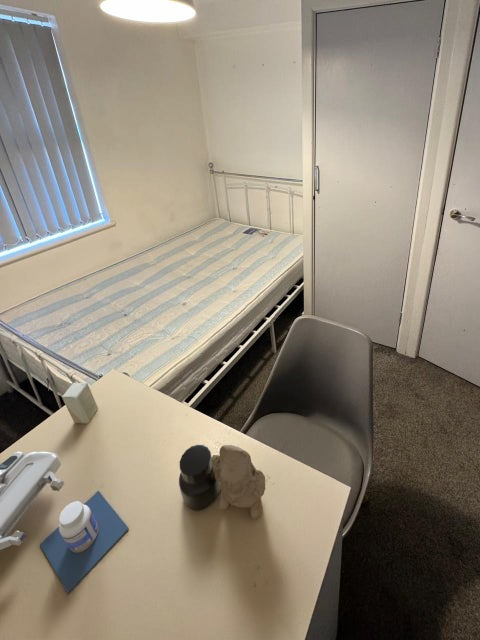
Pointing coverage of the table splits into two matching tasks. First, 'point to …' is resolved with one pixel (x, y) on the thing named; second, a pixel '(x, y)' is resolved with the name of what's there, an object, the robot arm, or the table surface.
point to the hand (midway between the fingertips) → (42, 510)
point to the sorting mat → (78, 564)
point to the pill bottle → (78, 526)
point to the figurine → (238, 480)
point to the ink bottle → (198, 478)
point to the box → (80, 402)
